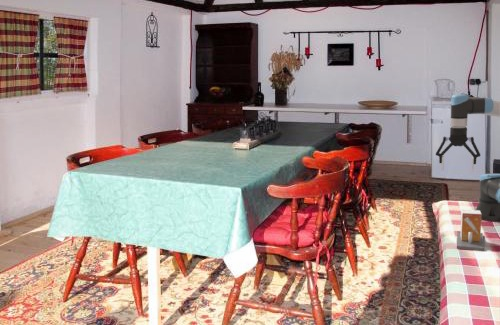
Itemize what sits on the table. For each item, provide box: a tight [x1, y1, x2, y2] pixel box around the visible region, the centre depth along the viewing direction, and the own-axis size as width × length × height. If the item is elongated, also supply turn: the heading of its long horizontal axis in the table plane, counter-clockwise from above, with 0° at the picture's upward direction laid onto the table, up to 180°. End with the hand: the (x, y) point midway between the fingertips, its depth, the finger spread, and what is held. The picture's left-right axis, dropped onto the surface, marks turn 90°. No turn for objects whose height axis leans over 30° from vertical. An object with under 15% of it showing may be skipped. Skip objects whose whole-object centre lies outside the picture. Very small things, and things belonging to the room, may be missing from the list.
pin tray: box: [456, 230, 485, 252], centre depth 250 cm, size 22×11×6 cm, turn 159°
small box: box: [460, 209, 482, 242], centre depth 249 cm, size 8×6×13 cm
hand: (457, 170), depth 267 cm, fingers open, 13 cm apart
